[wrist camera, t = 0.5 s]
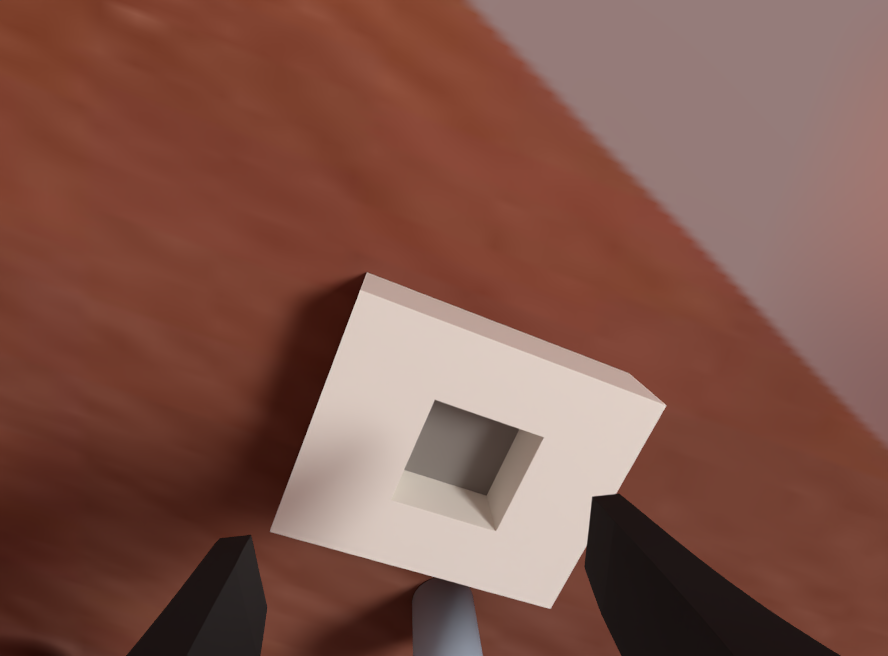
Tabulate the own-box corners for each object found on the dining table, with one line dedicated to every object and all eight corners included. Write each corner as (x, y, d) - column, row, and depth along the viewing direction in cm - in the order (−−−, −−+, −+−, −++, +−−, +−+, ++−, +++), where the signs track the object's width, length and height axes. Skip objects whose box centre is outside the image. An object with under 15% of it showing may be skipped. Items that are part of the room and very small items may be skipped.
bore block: (531, 553, 24) (550, 608, 21) (288, 482, 22) (269, 531, 19) (628, 373, 22) (666, 405, 18) (366, 272, 19) (360, 290, 16)
